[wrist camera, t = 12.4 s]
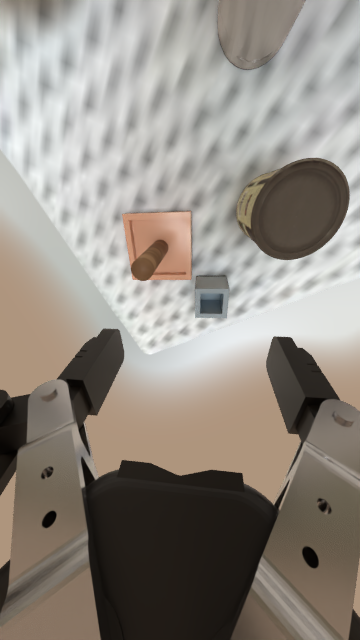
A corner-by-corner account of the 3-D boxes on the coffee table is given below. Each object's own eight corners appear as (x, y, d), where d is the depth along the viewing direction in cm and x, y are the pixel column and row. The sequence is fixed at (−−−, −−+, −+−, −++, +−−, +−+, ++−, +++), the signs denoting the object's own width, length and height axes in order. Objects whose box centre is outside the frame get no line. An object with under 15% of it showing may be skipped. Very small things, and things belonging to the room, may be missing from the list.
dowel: (152, 239, 39) (129, 259, 27) (167, 239, 39) (151, 258, 27) (153, 255, 40) (132, 280, 29) (168, 255, 40) (153, 280, 28)
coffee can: (299, 230, 37) (345, 247, 25) (240, 246, 39) (256, 269, 27) (299, 161, 32) (356, 140, 20) (231, 184, 34) (246, 178, 22)
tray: (126, 213, 38) (122, 214, 36) (191, 210, 37) (190, 211, 35) (136, 275, 44) (132, 279, 42) (191, 275, 43) (191, 279, 41)
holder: (196, 275, 43) (195, 288, 37) (225, 275, 42) (229, 288, 36) (196, 301, 46) (195, 317, 40) (223, 302, 45) (226, 318, 39)
